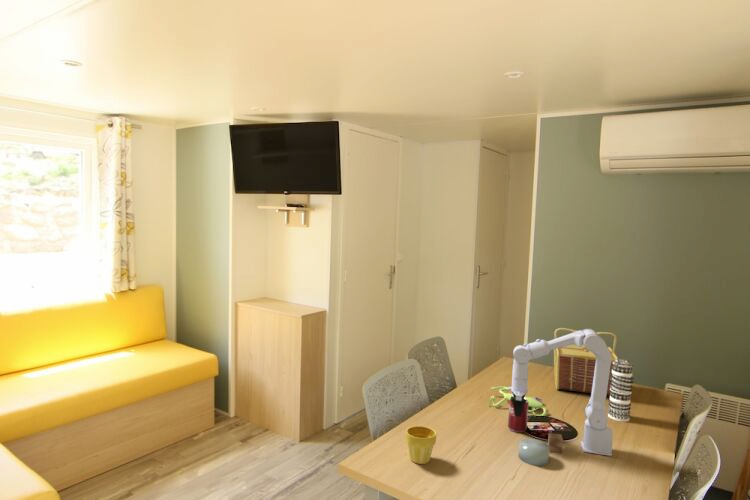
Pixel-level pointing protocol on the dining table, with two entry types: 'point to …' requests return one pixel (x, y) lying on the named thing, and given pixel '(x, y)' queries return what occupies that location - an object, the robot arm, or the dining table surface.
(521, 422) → the soda can
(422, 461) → the plant pot
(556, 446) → the walnut block
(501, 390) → the figurine
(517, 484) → the dining table surface
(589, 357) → the picnic basket
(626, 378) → the decorative candle
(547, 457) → the grey rounded dome
